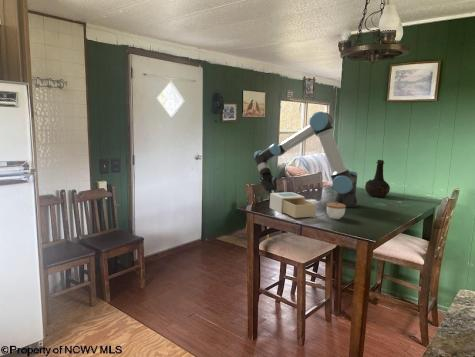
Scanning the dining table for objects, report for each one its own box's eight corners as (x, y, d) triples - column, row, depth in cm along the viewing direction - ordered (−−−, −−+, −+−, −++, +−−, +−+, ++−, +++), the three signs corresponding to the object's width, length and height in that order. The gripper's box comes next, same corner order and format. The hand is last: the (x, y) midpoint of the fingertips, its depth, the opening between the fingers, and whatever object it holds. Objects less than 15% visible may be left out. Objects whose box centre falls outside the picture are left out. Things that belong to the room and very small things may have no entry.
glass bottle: (368, 192, 292) (371, 158, 287) (391, 196, 281) (395, 160, 277) (361, 195, 277) (364, 159, 273) (385, 199, 267) (389, 161, 263)
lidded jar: (345, 220, 204) (346, 204, 203) (325, 219, 207) (327, 203, 205) (343, 216, 215) (345, 200, 213) (325, 214, 217) (326, 199, 215)
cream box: (269, 207, 227) (270, 193, 226) (291, 206, 234) (292, 191, 232) (280, 213, 215) (281, 197, 213) (303, 211, 221) (304, 196, 220)
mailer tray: (272, 206, 226) (273, 195, 225) (291, 205, 232) (292, 194, 230) (294, 217, 203) (295, 205, 202) (315, 216, 208) (316, 204, 207)
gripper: (270, 173, 255) (281, 202, 243) (254, 173, 250) (264, 203, 237) (274, 167, 249) (285, 195, 237) (257, 167, 244) (268, 196, 232)
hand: (274, 199), depth 237 cm, fingers closed
